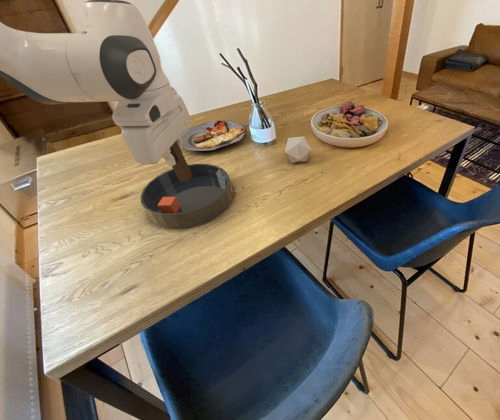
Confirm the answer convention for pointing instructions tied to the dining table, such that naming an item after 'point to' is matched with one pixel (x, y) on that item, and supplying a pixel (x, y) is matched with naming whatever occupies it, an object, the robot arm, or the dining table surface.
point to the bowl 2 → (349, 125)
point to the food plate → (212, 135)
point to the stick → (180, 164)
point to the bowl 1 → (189, 196)
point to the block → (168, 205)
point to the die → (297, 149)
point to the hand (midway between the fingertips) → (176, 159)
